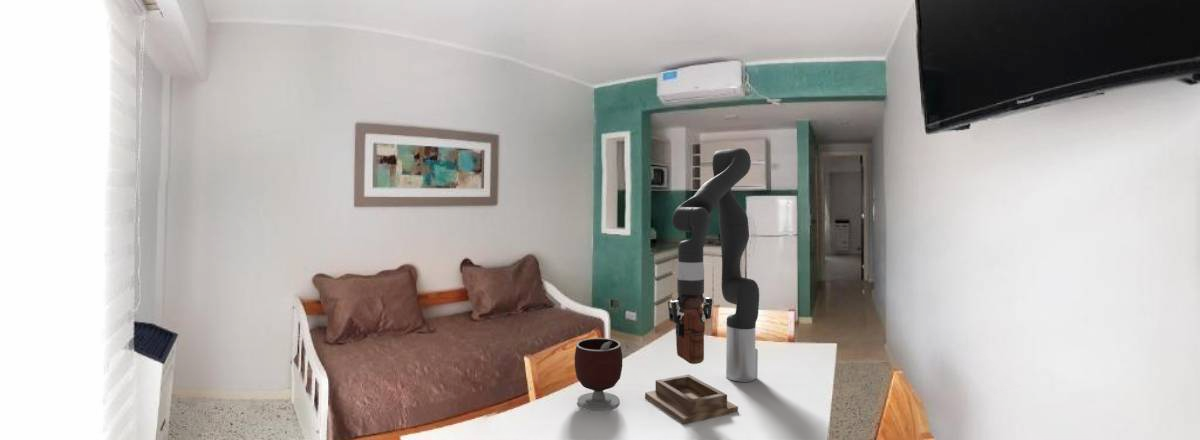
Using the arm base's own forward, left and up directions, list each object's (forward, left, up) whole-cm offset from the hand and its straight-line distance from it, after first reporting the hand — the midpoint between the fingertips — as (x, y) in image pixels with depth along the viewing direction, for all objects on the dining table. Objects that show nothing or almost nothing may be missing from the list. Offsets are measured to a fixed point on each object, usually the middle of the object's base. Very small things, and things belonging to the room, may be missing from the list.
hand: (690, 335), depth 144 cm
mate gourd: (+23, -12, -20) cm, 33 cm away
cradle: (0, 0, -20) cm, 20 cm away
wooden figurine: (0, 0, -7) cm, 7 cm away
